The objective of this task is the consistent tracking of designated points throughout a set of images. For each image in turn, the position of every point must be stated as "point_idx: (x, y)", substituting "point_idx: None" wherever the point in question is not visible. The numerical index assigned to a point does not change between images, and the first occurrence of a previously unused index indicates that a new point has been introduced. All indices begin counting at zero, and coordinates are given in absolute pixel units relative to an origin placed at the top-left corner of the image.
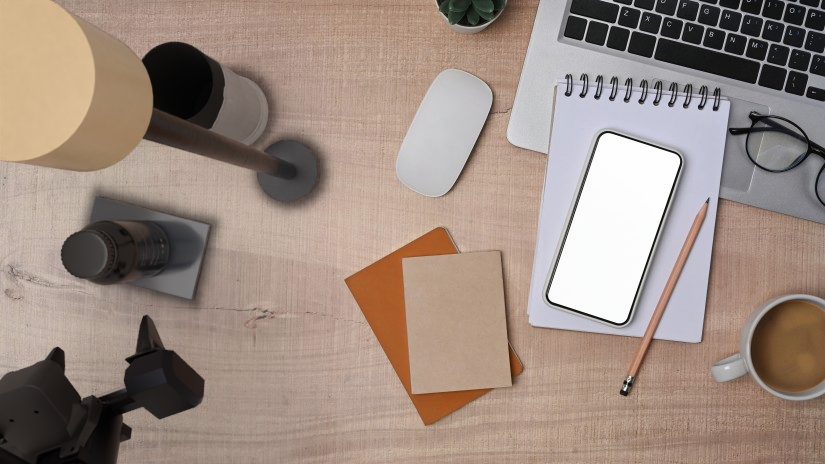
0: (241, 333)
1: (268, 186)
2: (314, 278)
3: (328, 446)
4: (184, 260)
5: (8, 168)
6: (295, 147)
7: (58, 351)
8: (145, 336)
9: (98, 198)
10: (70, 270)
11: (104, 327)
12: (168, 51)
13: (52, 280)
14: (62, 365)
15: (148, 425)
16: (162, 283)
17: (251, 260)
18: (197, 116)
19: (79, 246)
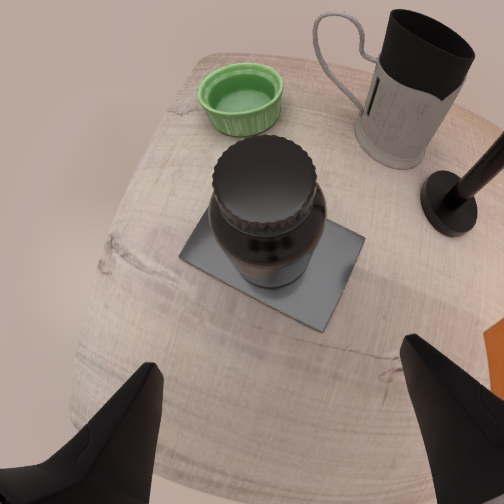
0: (371, 387)
1: (438, 209)
2: (461, 328)
3: (412, 500)
4: (325, 276)
5: (149, 144)
6: (458, 180)
7: (154, 376)
8: (478, 389)
9: None
10: (224, 199)
11: (188, 339)
12: (407, 25)
13: (144, 262)
14: (157, 412)
15: (215, 467)
16: (286, 301)
17: (404, 295)
18: (466, 61)
19: (258, 158)
